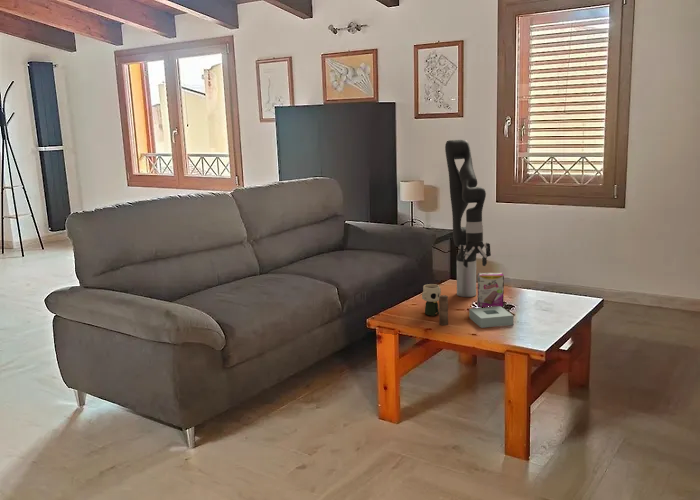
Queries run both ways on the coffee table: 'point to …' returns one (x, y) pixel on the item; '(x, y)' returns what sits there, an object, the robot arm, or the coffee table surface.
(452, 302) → the coffee table surface
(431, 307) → the character mug
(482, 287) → the candy bar box
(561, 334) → the coffee table surface
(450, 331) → the coffee table surface
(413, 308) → the coffee table surface
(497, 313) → the socket
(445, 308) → the peg
